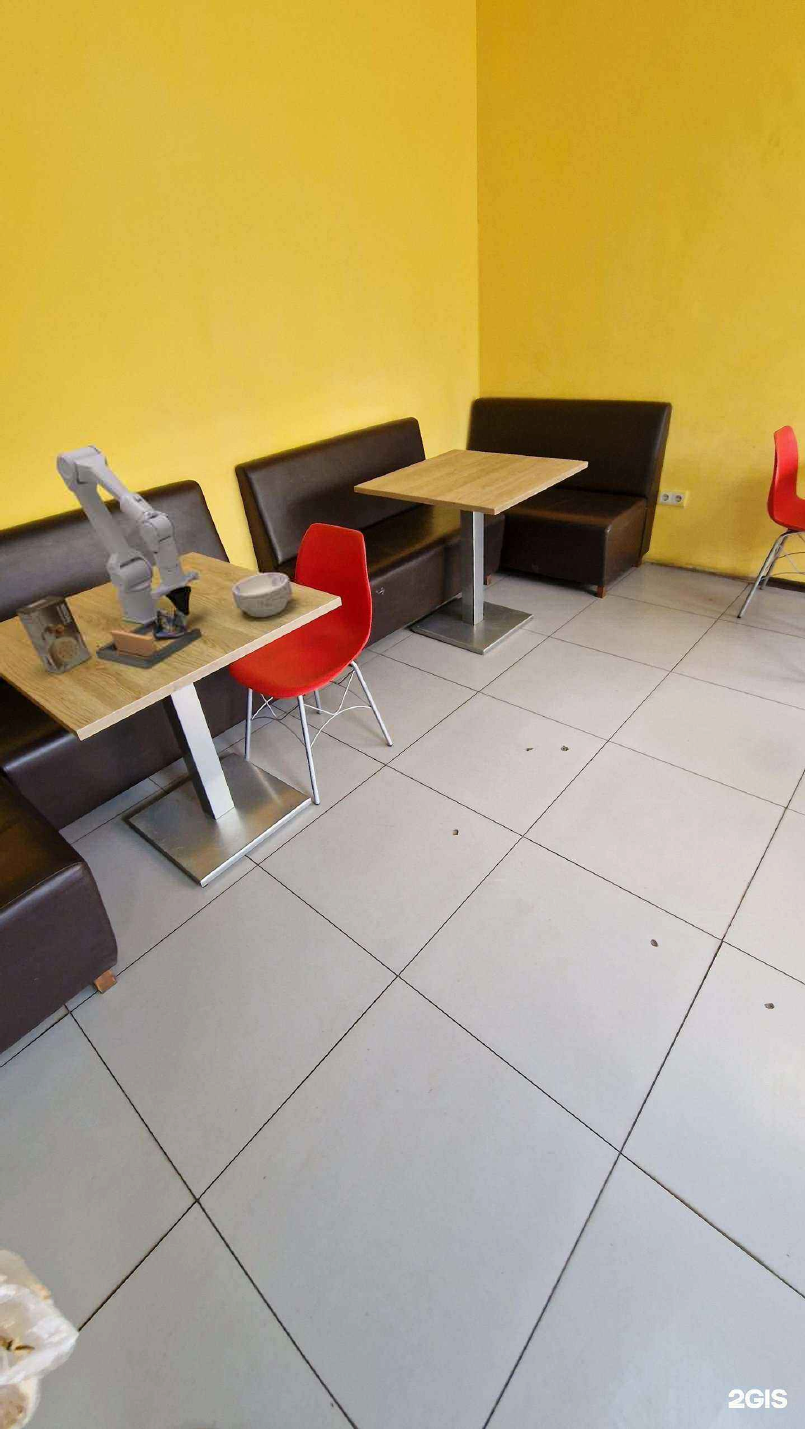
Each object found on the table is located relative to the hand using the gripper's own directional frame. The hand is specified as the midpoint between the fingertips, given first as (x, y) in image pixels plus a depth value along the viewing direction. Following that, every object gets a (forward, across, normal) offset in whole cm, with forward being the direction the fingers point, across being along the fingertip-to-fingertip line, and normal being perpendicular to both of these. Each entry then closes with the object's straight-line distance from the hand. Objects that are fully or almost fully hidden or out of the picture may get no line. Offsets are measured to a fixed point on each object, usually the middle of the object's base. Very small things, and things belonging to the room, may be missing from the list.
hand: (185, 614), depth 165 cm
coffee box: (+3, -27, +14) cm, 30 cm away
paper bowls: (+3, +14, -16) cm, 21 cm away
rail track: (+3, -12, 0) cm, 12 cm away
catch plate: (+3, -17, 0) cm, 17 cm away
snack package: (+3, -4, +1) cm, 5 cm away
